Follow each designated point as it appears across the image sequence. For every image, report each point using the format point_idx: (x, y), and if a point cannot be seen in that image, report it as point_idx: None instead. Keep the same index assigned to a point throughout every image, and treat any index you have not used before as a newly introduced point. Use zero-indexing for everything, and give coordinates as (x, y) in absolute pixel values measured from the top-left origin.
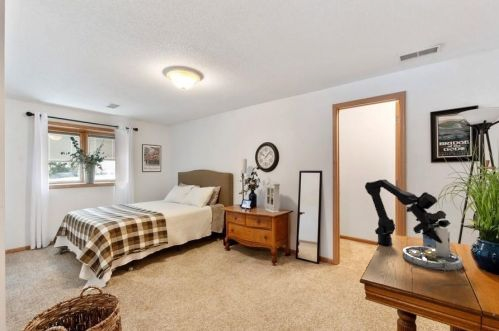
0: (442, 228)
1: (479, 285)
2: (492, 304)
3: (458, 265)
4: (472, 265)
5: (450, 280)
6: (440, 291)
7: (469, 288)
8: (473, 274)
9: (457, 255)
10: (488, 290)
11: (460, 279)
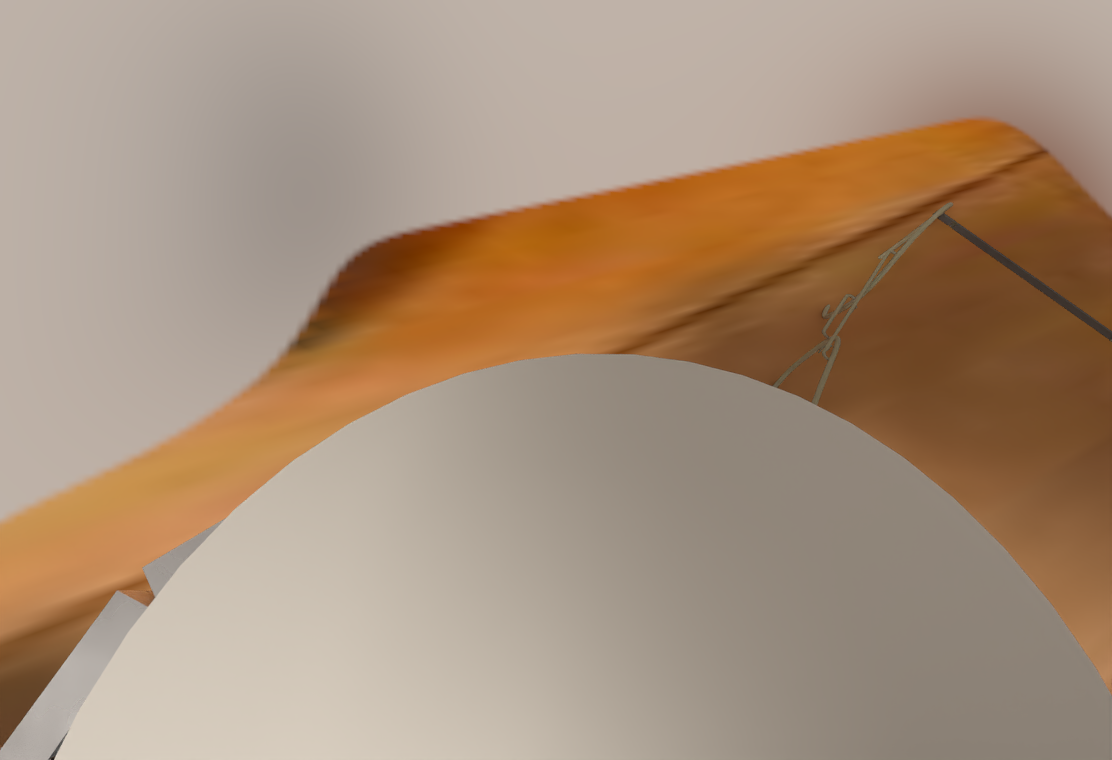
0: (758, 725)
1: (707, 246)
2: (918, 135)
3: None
4: (197, 438)
5: (840, 401)
6: (1107, 358)
7: (915, 230)
8: (495, 343)
9: (124, 592)
10: (737, 191)
11: (838, 313)
